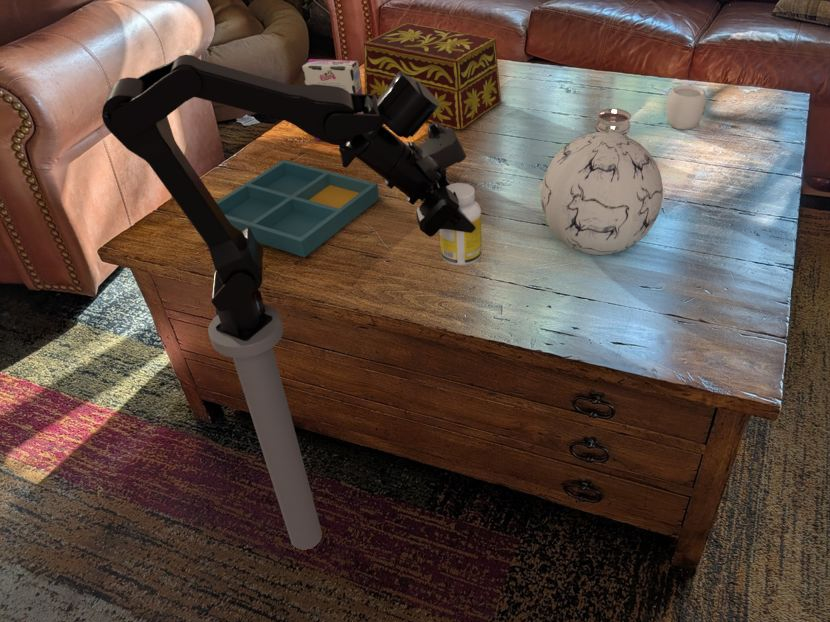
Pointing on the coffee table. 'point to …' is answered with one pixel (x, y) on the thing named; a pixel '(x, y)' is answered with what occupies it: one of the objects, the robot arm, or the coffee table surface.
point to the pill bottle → (457, 243)
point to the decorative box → (437, 69)
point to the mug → (685, 106)
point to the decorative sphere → (602, 193)
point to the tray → (297, 206)
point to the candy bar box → (333, 75)
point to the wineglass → (613, 121)
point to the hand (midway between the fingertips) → (469, 218)
